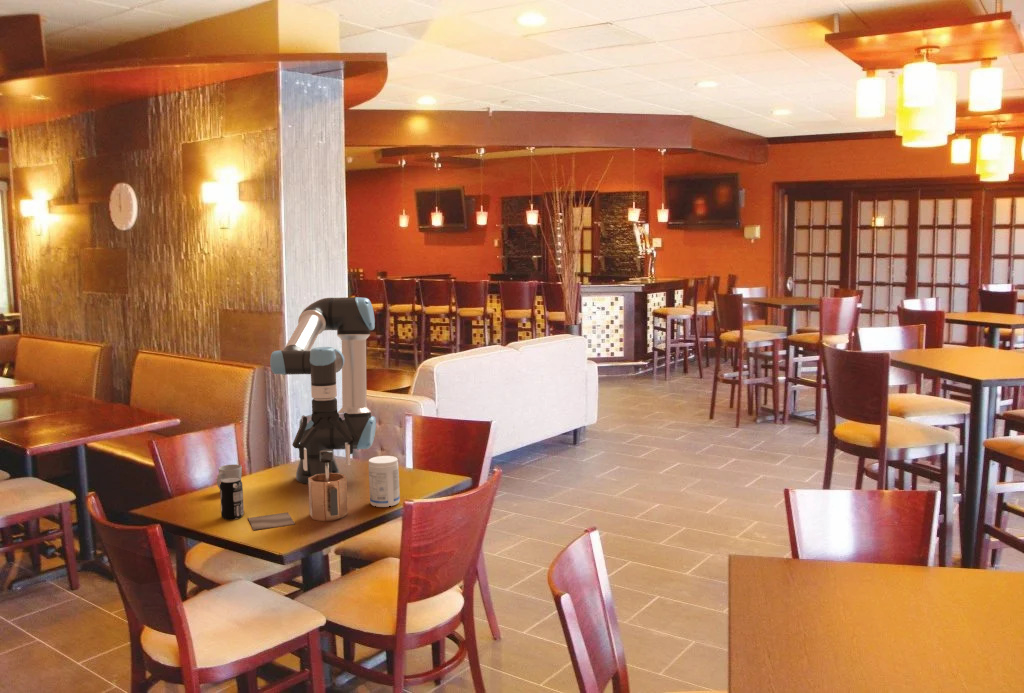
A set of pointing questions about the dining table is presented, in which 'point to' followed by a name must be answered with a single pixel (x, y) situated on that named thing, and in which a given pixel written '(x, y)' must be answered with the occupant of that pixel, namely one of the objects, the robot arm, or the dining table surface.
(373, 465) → the supplement tub
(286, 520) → the gray-brown square tile
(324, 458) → the plunger
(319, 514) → the press carafe
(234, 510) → the beverage can
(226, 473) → the cup
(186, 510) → the dining table surface
